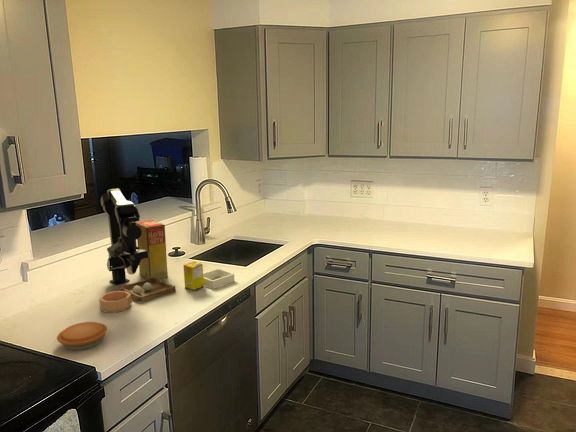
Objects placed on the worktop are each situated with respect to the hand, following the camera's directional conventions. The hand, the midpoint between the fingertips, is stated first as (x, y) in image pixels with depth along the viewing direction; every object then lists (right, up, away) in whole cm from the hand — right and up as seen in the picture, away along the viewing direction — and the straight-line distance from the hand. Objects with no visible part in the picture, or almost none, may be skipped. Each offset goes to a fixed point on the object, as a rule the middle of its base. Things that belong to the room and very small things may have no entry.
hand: (131, 272), depth 192 cm
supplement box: (+22, -9, +14) cm, 28 cm away
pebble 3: (+3, -7, +10) cm, 13 cm away
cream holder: (+31, -7, +21) cm, 38 cm away
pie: (-5, -20, -32) cm, 38 cm away
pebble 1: (0, +1, 0) cm, 1 cm away
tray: (+3, -10, +10) cm, 15 cm away
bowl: (-5, -13, -4) cm, 14 cm away
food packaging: (0, -5, +31) cm, 32 cm away
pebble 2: (0, -8, +7) cm, 11 cm away
